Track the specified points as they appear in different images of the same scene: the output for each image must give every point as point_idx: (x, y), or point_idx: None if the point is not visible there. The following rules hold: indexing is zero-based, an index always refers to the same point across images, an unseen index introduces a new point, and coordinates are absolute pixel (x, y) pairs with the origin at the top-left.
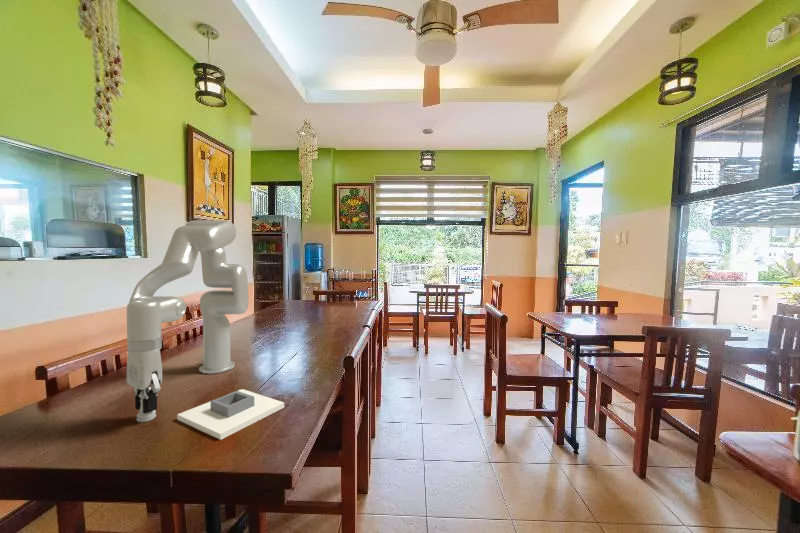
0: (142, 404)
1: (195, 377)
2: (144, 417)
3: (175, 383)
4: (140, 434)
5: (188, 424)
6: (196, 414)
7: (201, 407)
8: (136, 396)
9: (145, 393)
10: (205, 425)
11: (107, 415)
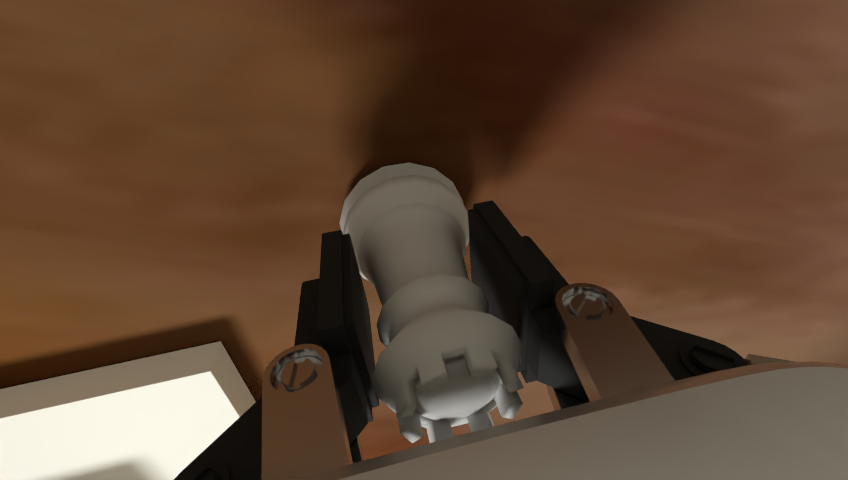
0: (404, 270)
1: None
2: (348, 214)
3: None
4: (104, 125)
5: (68, 376)
6: (114, 442)
7: None
8: (529, 283)
9: (279, 428)
10: None
11: (731, 29)
